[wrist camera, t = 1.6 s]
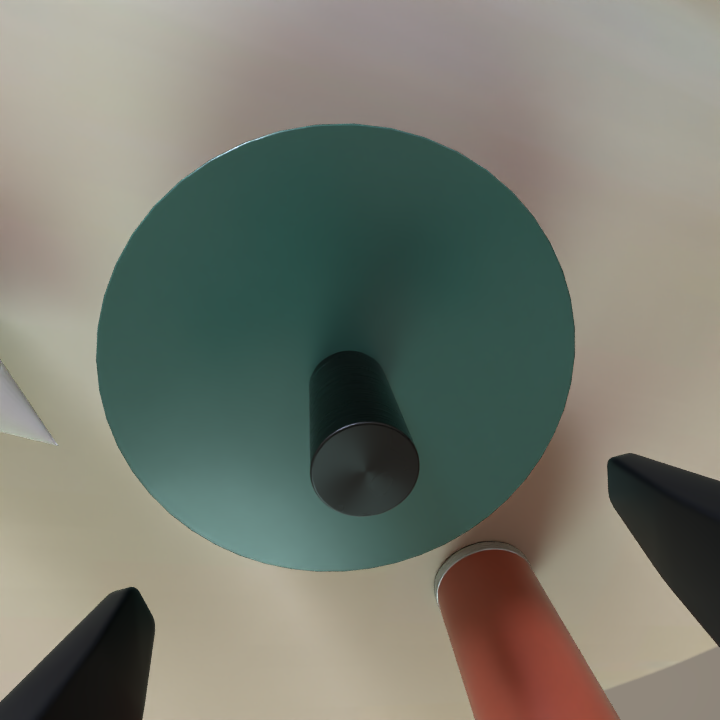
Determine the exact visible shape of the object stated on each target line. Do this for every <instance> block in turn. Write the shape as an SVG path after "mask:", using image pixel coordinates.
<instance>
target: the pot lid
mask: <svg viewBox="0 0 720 720" xmlns="http://www.w3.org/2000/svg"><path fill="white" fill-rule="evenodd" d="M574 357H575V326H574V319H573V312H572V304H571V298H570V295H569V291H568V288H567V284H566V281H565V277H564V274H563V270H562V268H561V266H560V263H559V261H558V259H557V257H556V255H555V252H554V250H553V248H552V246H551V243H550V241H549V240H548V238H547V237H546V235H545V234H544V232H543V230H542V229H541V227H540V226H539V224H538V223H537V221H536V220H535V218H534V216H533V215H532V214H531V213H530V212H529V210H528V209H527V208H526V207H525V206H524V205H523V204H522V202H521V201H520V200H519V199H518V198H517V197H516V195H515V194H514V193H513V192H512V191H511V190H510V189H509V188H507V187H506V186H505V185H504V184H503V183H502V182H500V181H499V180H498V179H497V178H496V177H495V176H493V175H492V174H491V173H490V172H489V171H488V170H486V169H485V168H483V167H481V166H480V165H478V164H477V163H475V162H473V161H472V160H470V159H469V158H467V157H465V156H464V155H462V154H461V153H459V152H457V151H455V150H453V149H451V148H448V147H446V146H444V145H441V144H439V143H437V142H435V141H432V140H430V139H428V138H425V137H422V136H418V135H414V134H411V133H407V132H403V131H400V130H396V129H392V128H386V127H378V126H370V125H361V124H321V125H311V126H306V127H300V128H294V129H289V130H283V131H278V132H275V133H272V134H269V135H266V136H263V137H260V138H257V139H254V140H251V141H248V142H245V143H242V144H240V145H239V146H237V147H235V148H233V149H231V150H229V151H227V152H225V153H223V154H221V155H219V156H217V157H215V158H213V159H211V160H209V161H208V162H206V163H205V164H203V165H202V166H201V167H199V168H198V169H196V170H195V171H194V172H192V173H191V174H189V175H188V176H186V177H185V178H184V179H182V180H181V181H180V182H178V183H177V184H176V185H175V186H174V187H173V188H172V189H171V190H170V191H169V192H168V193H167V194H166V195H165V196H164V197H163V198H162V199H161V200H160V201H159V202H158V203H157V204H156V205H155V206H154V207H153V208H152V209H151V210H150V212H149V213H148V214H147V216H146V217H145V218H144V220H143V221H142V222H141V223H140V225H139V226H138V227H137V229H136V230H135V231H134V233H133V234H132V236H131V237H130V239H129V241H128V243H127V245H126V246H125V248H124V250H123V252H122V254H121V256H120V257H119V259H118V261H117V263H116V265H115V267H114V270H113V273H112V276H111V278H110V281H109V284H108V287H107V289H106V292H105V295H104V299H103V304H102V309H101V314H100V319H99V324H98V332H97V353H96V363H97V372H98V382H99V391H100V395H101V399H102V403H103V407H104V411H105V415H106V419H107V421H108V424H109V426H110V429H111V431H112V434H113V436H114V438H115V441H116V443H117V446H118V448H119V449H120V451H121V453H122V455H123V456H124V458H125V460H126V461H127V463H128V465H129V466H130V468H131V470H132V472H133V473H134V474H135V475H136V477H137V478H138V479H139V481H140V482H141V483H142V484H143V486H144V487H145V488H146V490H147V491H148V492H149V493H150V495H152V496H153V497H154V498H155V499H156V500H157V501H158V502H159V503H160V504H161V505H162V506H163V507H164V508H165V509H166V510H167V511H168V512H169V513H170V514H171V515H172V516H174V517H175V518H176V519H177V520H179V521H180V522H181V523H183V524H184V525H185V526H187V527H188V528H189V529H191V530H192V531H194V532H195V533H197V534H199V535H200V536H202V537H204V538H205V539H207V540H209V541H210V542H212V543H214V544H215V545H218V546H220V547H222V548H224V549H227V550H229V551H231V552H233V553H236V554H238V555H240V556H243V557H246V558H249V559H253V560H256V561H259V562H262V563H265V564H270V565H275V566H279V567H284V568H289V569H297V570H307V571H351V570H361V569H370V568H375V567H379V566H384V565H389V564H393V563H397V562H400V561H403V560H406V559H410V558H413V557H416V556H419V555H422V554H424V553H426V552H428V551H431V550H433V549H435V548H438V547H440V546H442V545H444V544H446V543H448V542H450V541H451V540H453V539H455V538H457V537H458V536H460V535H462V534H464V533H465V532H467V531H469V530H470V529H471V528H473V527H474V526H476V525H477V524H478V523H480V522H481V521H483V520H484V519H485V518H487V517H488V516H489V515H490V514H492V513H493V512H494V511H495V510H496V509H497V508H498V507H499V506H501V505H502V504H503V503H504V502H505V501H506V500H507V499H508V498H509V497H510V496H511V495H512V494H513V493H514V492H515V491H516V489H517V488H518V487H519V486H520V485H521V484H522V483H523V482H524V481H525V479H526V478H527V477H528V475H529V474H530V472H531V471H532V470H533V468H534V467H535V465H536V464H537V463H538V461H539V460H540V458H541V457H542V455H543V453H544V451H545V450H546V448H547V446H548V444H549V442H550V441H551V439H552V437H553V435H554V433H555V430H556V428H557V426H558V423H559V421H560V418H561V416H562V413H563V411H564V408H565V404H566V400H567V396H568V393H569V389H570V385H571V380H572V372H573V365H574Z"/></svg>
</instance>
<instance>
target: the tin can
mask: <svg viewBox="0 0 720 720" xmlns="http://www.w3.org/2000/svg"><path fill="white" fill-rule="evenodd" d="M434 593H435V597H436V600H437V603H438V606H439V608H440V610H441V613H442V616H443V619H444V623H445V626H446V629H447V632H448V635H449V638H450V642H451V645H452V648H453V651H454V654H455V657H456V661H457V664H458V667H459V670H460V673H461V676H462V680H463V683H464V686H465V689H466V692H467V695H468V699H469V702H470V705H471V708H472V711H473V714H474V718H475V720H620V718H619V717H618V715H617V713H616V711H615V710H614V708H613V706H612V705H611V703H610V701H609V700H608V698H607V696H606V694H605V693H604V691H603V689H602V688H601V686H600V684H599V682H598V681H597V679H596V677H595V676H594V674H593V672H592V671H591V669H590V667H589V666H588V664H587V662H586V660H585V659H584V657H583V655H582V654H581V652H580V650H579V649H578V647H577V645H576V643H575V642H574V640H573V638H572V637H571V635H570V633H569V632H568V630H567V628H566V626H565V625H564V623H563V621H562V620H561V618H560V616H559V615H558V613H557V611H556V609H555V608H554V606H553V604H552V603H551V601H550V599H549V598H548V596H547V594H546V593H545V591H544V589H543V587H542V586H541V584H540V582H539V581H538V579H537V577H536V576H535V574H534V572H533V570H532V567H531V565H530V564H529V562H528V560H527V559H526V557H525V556H524V555H523V553H522V552H521V551H519V550H518V549H517V548H515V547H513V546H511V545H508V544H505V543H501V542H481V543H477V544H473V545H470V546H467V547H465V548H463V549H461V550H459V551H458V552H456V553H455V554H453V555H452V556H451V557H450V558H449V559H447V560H446V562H445V563H444V564H443V565H442V567H441V568H440V569H439V571H438V573H437V576H436V579H435V584H434Z"/></svg>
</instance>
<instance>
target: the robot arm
mask: <svg viewBox="0 0 720 720" xmlns="http://www.w3.org/2000/svg"><path fill="white" fill-rule="evenodd" d="M607 471H608V492H609V498H610V501H611V503H612V505H613V507H614V508H615V510H616V511H617V513H618V514H619V516H620V517H621V519H622V520H623V522H624V523H625V524H626V526H627V527H628V529H629V530H630V532H631V533H632V535H633V536H634V538H635V539H636V541H637V542H638V544H639V545H640V546H641V548H642V549H643V551H644V552H645V554H646V555H647V557H648V558H649V560H650V561H651V563H652V564H653V566H654V567H655V568H656V570H657V571H658V573H659V574H660V575H661V577H662V578H663V580H664V581H665V582H666V583H667V585H668V586H669V587H670V588H671V590H672V591H673V592H674V593H675V594H676V596H677V597H678V598H679V599H680V600H681V602H682V603H683V604H684V605H685V606H686V608H687V609H688V610H689V611H690V612H691V614H692V615H693V616H694V617H695V618H696V620H697V621H698V622H699V623H700V624H701V626H702V627H703V628H704V629H705V630H706V632H707V633H708V634H709V635H710V636H711V638H712V639H713V640H714V641H715V642H716V644H717V645H718V646H719V647H720V481H718V480H714V479H711V478H708V477H705V476H702V475H699V474H696V473H693V472H689V471H686V470H683V469H680V468H677V467H674V466H671V465H668V464H665V463H661V462H658V461H655V460H652V459H649V458H646V457H643V456H640V455H636V454H633V453H627V454H623V455H619V456H616V457H612V458H611V459H609V461H608V464H607ZM154 635H155V622H154V618H153V616H152V614H151V612H150V610H149V608H148V607H147V605H146V603H145V601H144V599H143V598H142V596H141V594H140V592H139V591H138V589H136V588H134V587H129V588H125V589H121V590H117V591H114V592H112V593H110V594H109V595H108V596H107V597H106V598H105V599H104V600H103V601H102V602H101V603H100V604H99V605H98V606H97V607H96V608H95V609H94V610H93V611H91V612H90V613H89V614H88V615H87V616H86V617H85V618H84V619H83V620H82V621H81V622H80V623H79V624H78V625H77V626H76V627H75V628H74V629H73V630H72V631H71V632H70V633H69V634H68V635H67V636H66V637H65V638H64V639H63V640H62V641H61V642H60V643H59V644H58V645H57V646H56V647H55V648H54V649H53V650H52V651H51V652H50V653H49V654H48V655H47V656H46V657H45V658H44V659H43V660H42V661H41V662H40V663H39V664H38V665H37V666H36V667H35V668H34V669H33V670H32V671H31V672H30V673H29V674H28V675H27V676H26V677H25V678H24V679H23V680H22V681H21V682H20V683H19V684H18V685H17V686H16V687H15V688H14V689H13V690H12V691H11V692H10V693H9V694H8V695H7V696H6V697H5V698H4V699H3V700H2V701H1V702H0V720H142V718H143V712H144V706H145V699H146V692H147V685H148V678H149V671H150V664H151V656H152V649H153V642H154Z"/></svg>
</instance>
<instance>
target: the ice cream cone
mask: <svg viewBox="0 0 720 720" xmlns="http://www.w3.org/2000/svg"><path fill="white" fill-rule="evenodd" d="M0 432H3V433H7V434H11V435H16V436H20V437H24V438H28V439H32V440H36V441H40V442H44V443H48V444H52V445H56V446H58V445H57V443H56V442H55V440H54V439H53V437H52V436H51V434H50V433H49V431H48V430H47V428H46V427H45V425H44V424H43V422H42V421H41V419H40V418H39V416H38V415H37V413H36V412H35V410H34V409H33V407H32V406H31V404H30V403H29V401H28V400H27V398H26V397H25V395H24V394H23V392H22V391H21V389H20V388H19V386H18V385H17V383H16V382H15V380H14V379H13V377H12V376H11V374H10V373H9V371H8V370H7V368H6V367H5V365H4V364H3V362H2V361H1V359H0Z"/></svg>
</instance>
